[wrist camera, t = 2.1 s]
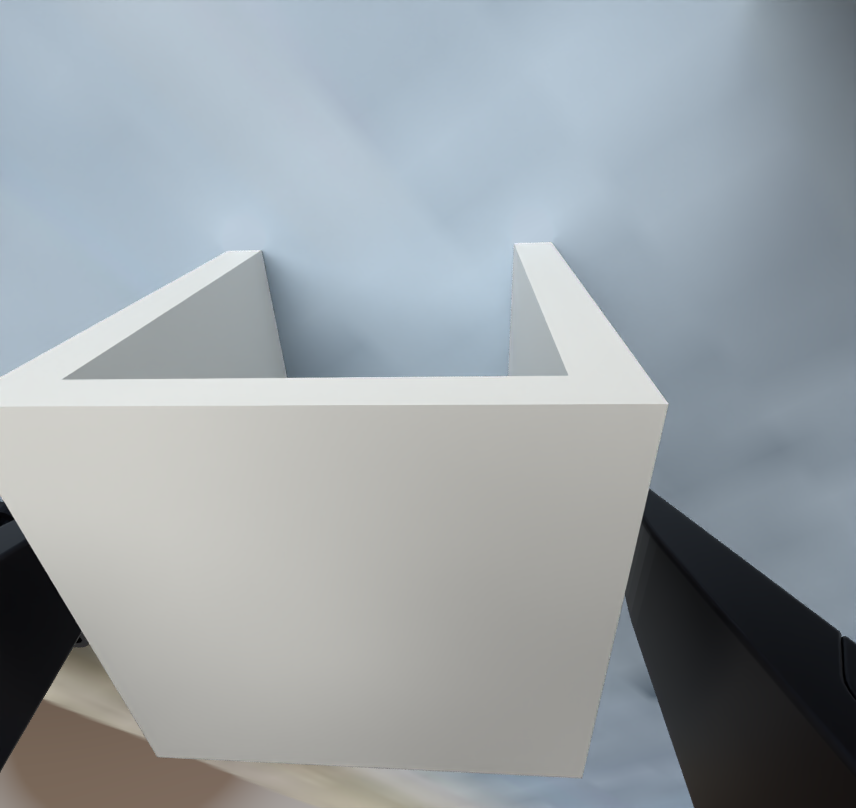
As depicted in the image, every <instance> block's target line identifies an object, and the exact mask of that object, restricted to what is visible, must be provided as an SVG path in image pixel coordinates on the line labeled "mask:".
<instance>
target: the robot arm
mask: <svg viewBox="0 0 856 808" xmlns="http://www.w3.org/2000/svg"><path fill="white" fill-rule="evenodd" d="M625 597H626V602H627V606H628V610H629V615H630V618H631V622H632V625H633V628H634V631H635V634H636V637H637V640H638V643H639V646H640V649H641V652H642V655H643V658H644V661H645V664H646V667H647V670H648V673H649V676H650V679H651V682H652V684H653V687H654V690H655V693H656V696H657V699H658V702H659V705H660V708H661V711H662V714H663V717H664V720H665V723H666V726H667V729H668V732H669V735H670V738H671V741H672V744H673V746H674V749H675V752H676V755H677V758H678V761H679V764H680V767H681V770H682V773H683V776H684V779H685V782H686V785H687V788H688V791H689V794H690V797H691V800H692V803H693V806H694V808H856V643H855V642H853V641H852V640H851V639H849V638H848V637H846V636H843V637H841V633H840V631H838V630H837V629H836V628H834V627H833V626H832V625H830V624H829V623H828V622H826V621H825V620H824V619H822V618H821V617H820V616H818V615H817V614H816V613H814V612H813V611H812V610H810V609H809V608H808V607H806V606H805V605H804V604H802V603H801V602H800V601H798V600H797V599H796V598H794V597H793V596H792V595H790V594H789V593H788V592H786V591H785V590H784V589H782V588H781V587H780V586H778V585H777V584H776V583H774V582H773V581H772V580H770V579H769V578H768V577H766V576H765V575H764V574H762V573H761V572H760V571H758V570H757V569H756V568H754V567H753V566H752V565H750V564H749V563H748V562H746V561H745V560H744V559H742V558H741V557H740V556H738V555H737V554H736V553H734V552H733V551H732V550H730V549H729V548H728V547H726V546H725V545H724V544H722V543H721V542H720V541H718V540H717V539H716V538H714V537H713V536H712V535H710V534H709V533H708V532H706V531H705V530H704V529H702V528H701V527H700V526H698V525H697V524H696V523H694V522H693V521H692V520H690V519H689V518H688V517H686V516H685V515H684V514H682V513H681V512H680V511H678V510H677V509H676V508H674V507H673V506H672V505H670V504H669V503H668V502H666V501H665V500H664V499H662V498H661V497H660V496H658V495H657V494H656V493H654V492H653V491H652V490H650V489H649V491H648V495H647V499H646V504H645V508H644V512H643V517H642V521H641V525H640V530H639V534H638V538H637V543H636V547H635V551H634V556H633V560H632V564H631V569H630V573H629V577H628V582H627V586H626V590H625ZM88 644H89V642H88V641H87V639H86V637H85V636H84V634H83V632H82V631H81V629H80V627H79V626H78V624H77V622H76V621H75V619H74V617H73V616H72V614H71V612H70V611H69V609H68V607H67V606H66V604H65V602H64V601H63V599H62V597H61V596H60V594H59V592H58V591H57V589H56V587H55V586H54V584H53V582H52V581H51V579H50V577H49V576H48V574H47V572H46V571H45V569H44V567H43V566H42V564H41V562H40V561H39V559H38V557H37V556H36V554H35V552H34V551H33V549H32V547H31V546H30V544H29V542H28V541H27V539H26V537H25V536H24V534H23V532H22V531H21V529H20V527H19V526H18V524H17V522H16V521H15V519H14V517H13V516H12V514H11V512H10V511H9V509H8V507H7V506H6V504H5V502H0V772H1V770H2V768H3V767H4V765H5V763H6V761H7V759H8V758H9V756H10V755H11V753H12V751H13V749H14V748H15V746H16V744H17V743H18V741H19V739H20V737H21V736H22V734H23V732H24V731H25V729H26V727H27V725H28V724H29V722H30V720H31V718H32V717H33V715H34V713H35V712H36V710H37V708H38V707H39V705H40V703H41V701H42V700H43V698H44V696H45V695H46V693H47V691H48V689H49V688H50V686H51V684H52V683H53V681H54V679H55V677H56V676H57V674H58V672H59V671H60V669H61V667H62V665H63V664H64V662H65V660H66V659H67V657H68V655H69V653H70V652H71V650H72V648H73V647H85V646H87V645H88Z"/></svg>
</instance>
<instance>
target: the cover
mask: <svg viewBox="0 0 856 808" xmlns="http://www.w3.org/2000/svg"><path fill="white" fill-rule="evenodd" d="M667 408H668V403H667V401H666V400H665V398H664V397H663V396H662V394H661V393H660V391H659V390H658V389H657V387H656V386H655V385H654V383H653V382H652V380H651V379H650V378H649V376H648V375H647V374H646V372H645V371H644V369H643V368H642V367H641V365H640V364H639V362H638V361H637V360H636V358H635V357H634V356H633V354H632V353H631V351H630V350H629V349H628V347H627V346H626V345H625V343H624V342H623V340H622V339H621V338H620V336H619V335H618V333H617V332H616V331H615V329H614V328H613V327H612V325H611V324H610V322H609V321H608V320H607V318H606V317H605V315H604V314H603V313H602V311H601V310H600V309H599V307H598V306H597V304H596V303H595V302H594V300H593V299H592V298H591V296H590V295H589V293H588V292H587V291H586V289H585V288H584V286H583V285H582V284H581V282H580V281H579V280H578V278H577V277H576V275H575V274H574V273H573V271H572V270H571V269H570V267H569V266H568V264H567V263H566V262H565V260H564V259H563V257H562V256H561V255H560V253H559V252H558V251H557V249H556V248H555V246H554V245H553V244H552V242H543V243H514V252H513V274H512V297H511V319H510V341H509V364H508V376H467V377H342V378H287V374H286V369H285V364H284V359H283V354H282V349H281V344H280V339H279V334H278V329H277V324H276V319H275V314H274V309H273V304H272V299H271V294H270V290H269V285H268V280H267V275H266V270H265V265H264V260H263V255H262V250H250V251H226V252H225V253H223V254H221V255H219V256H217V257H216V258H214V259H212V260H210V261H208V262H207V263H205V264H203V265H201V266H199V267H198V268H196V269H194V270H192V271H190V272H189V273H187V274H185V275H183V276H181V277H180V278H178V279H176V280H174V281H172V282H171V283H169V284H167V285H165V286H163V287H162V288H160V289H158V290H156V291H154V292H153V293H151V294H149V295H147V296H145V297H144V298H142V299H140V300H138V301H136V302H135V303H133V304H131V305H129V306H127V307H126V308H124V309H122V310H120V311H118V312H117V313H115V314H113V315H111V316H109V317H108V318H106V319H104V320H102V321H100V322H99V323H97V324H95V325H93V326H91V327H90V328H88V329H86V330H84V331H82V332H81V333H79V334H77V335H75V336H73V337H72V338H70V339H68V340H66V341H64V342H63V343H61V344H59V345H57V346H55V347H54V348H52V349H50V350H48V351H46V352H45V353H43V354H41V355H39V356H37V357H36V358H34V359H32V360H30V361H29V362H27V363H25V364H23V365H21V366H20V367H18V368H16V369H14V370H12V371H11V372H9V373H7V374H5V375H3V376H2V377H0V496H1V497H2V499H3V501H4V502H5V504H6V506H7V507H8V509H9V511H10V512H11V514H12V516H13V517H14V519H15V521H16V522H17V524H18V526H19V527H20V529H21V531H22V532H23V534H24V536H25V537H26V539H27V541H28V542H29V544H30V546H31V547H32V549H33V551H34V552H35V554H36V556H37V557H38V559H39V561H40V562H41V564H42V566H43V567H44V569H45V571H46V572H47V574H48V576H49V577H50V579H51V581H52V582H53V584H54V586H55V587H56V589H57V591H58V592H59V594H60V596H61V597H62V599H63V601H64V602H65V604H66V606H67V607H68V609H69V611H70V612H71V614H72V616H73V617H74V619H75V621H76V622H77V624H78V626H79V627H80V629H81V631H82V632H83V634H84V636H85V637H86V639H87V641H88V642H89V644H90V646H91V647H92V649H93V651H94V652H95V654H96V656H97V657H98V659H99V661H100V662H101V664H102V666H103V667H104V669H105V671H106V672H107V674H108V676H109V677H110V679H111V681H112V682H113V684H114V686H115V687H116V689H117V691H118V692H119V694H120V696H121V697H122V699H123V701H124V702H125V704H126V706H127V707H128V709H129V711H130V712H131V714H132V716H133V717H134V719H135V721H136V722H137V724H138V726H139V727H140V729H141V731H142V732H143V734H144V736H145V737H146V739H147V741H148V742H149V744H150V745H151V747H152V749H153V751H154V752H155V754H156V756H157V757H166V758H185V759H205V760H225V761H245V762H265V763H285V764H305V765H325V766H345V767H365V768H385V769H405V770H425V771H446V772H466V773H486V774H506V775H526V776H546V777H566V778H582V777H583V772H584V768H585V764H586V759H587V755H588V751H589V746H590V742H591V738H592V733H593V729H594V725H595V720H596V716H597V712H598V707H599V703H600V699H601V694H602V690H603V686H604V681H605V677H606V673H607V668H608V664H609V660H610V655H611V651H612V647H613V642H614V638H615V634H616V629H617V625H618V621H619V616H620V612H621V608H622V603H623V599H624V595H625V590H626V586H627V582H628V577H629V573H630V569H631V564H632V560H633V556H634V551H635V547H636V543H637V538H638V534H639V530H640V525H641V521H642V517H643V512H644V508H645V504H646V499H647V495H648V491H649V486H650V482H651V478H652V473H653V469H654V465H655V460H656V456H657V452H658V447H659V443H660V439H661V434H662V430H663V426H664V421H665V417H666V413H667Z"/></svg>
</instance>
